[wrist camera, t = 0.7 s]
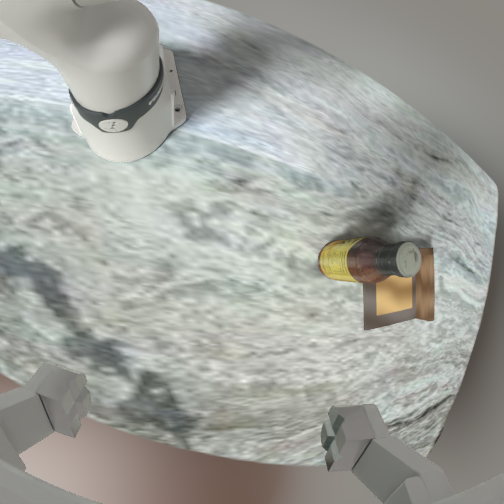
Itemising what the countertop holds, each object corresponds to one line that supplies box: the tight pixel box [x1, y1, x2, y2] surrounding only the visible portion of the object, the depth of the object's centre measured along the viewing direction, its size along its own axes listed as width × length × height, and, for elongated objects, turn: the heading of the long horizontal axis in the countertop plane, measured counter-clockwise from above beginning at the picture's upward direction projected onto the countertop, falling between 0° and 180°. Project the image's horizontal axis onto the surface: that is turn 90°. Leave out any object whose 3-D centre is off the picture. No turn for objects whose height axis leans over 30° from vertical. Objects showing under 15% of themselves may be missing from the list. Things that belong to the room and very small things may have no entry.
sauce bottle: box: [318, 236, 421, 283], centre depth 41 cm, size 6×6×20 cm
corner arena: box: [363, 248, 434, 330], centre depth 51 cm, size 14×14×5 cm
